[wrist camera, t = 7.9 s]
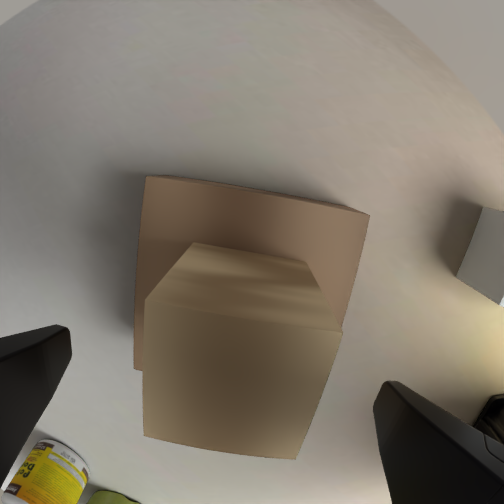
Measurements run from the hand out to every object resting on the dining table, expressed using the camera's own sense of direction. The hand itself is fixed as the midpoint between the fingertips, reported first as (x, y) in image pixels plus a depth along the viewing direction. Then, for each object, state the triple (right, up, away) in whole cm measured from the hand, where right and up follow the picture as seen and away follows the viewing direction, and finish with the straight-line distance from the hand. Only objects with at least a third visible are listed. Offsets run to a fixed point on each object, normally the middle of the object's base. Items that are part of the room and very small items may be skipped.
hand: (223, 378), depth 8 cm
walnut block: (0, +2, +8) cm, 8 cm away
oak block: (0, +1, +5) cm, 5 cm away
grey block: (+13, +3, +6) cm, 15 cm away
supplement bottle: (-16, -15, +13) cm, 25 cm away
